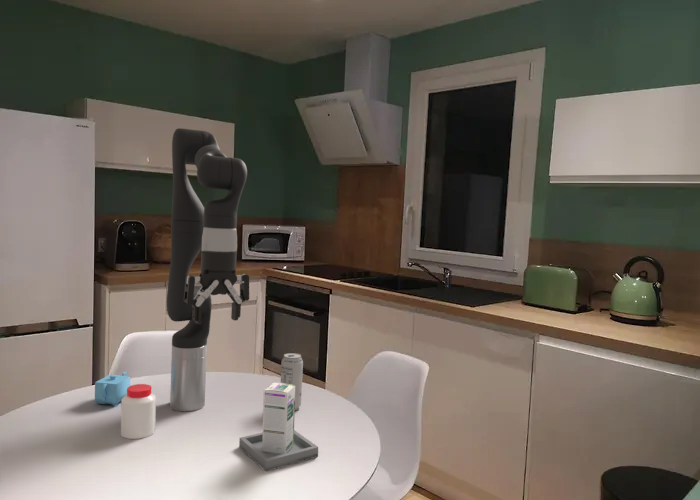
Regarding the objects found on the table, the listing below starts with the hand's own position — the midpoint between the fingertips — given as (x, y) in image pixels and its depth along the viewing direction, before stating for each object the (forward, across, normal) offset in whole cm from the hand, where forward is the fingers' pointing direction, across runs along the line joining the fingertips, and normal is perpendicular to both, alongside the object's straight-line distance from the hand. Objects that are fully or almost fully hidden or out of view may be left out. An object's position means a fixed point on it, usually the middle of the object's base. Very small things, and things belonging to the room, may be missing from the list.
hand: (216, 321), depth 116 cm
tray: (+30, -13, +7) cm, 33 cm away
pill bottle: (+30, +11, -19) cm, 37 cm away
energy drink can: (+30, -29, -15) cm, 45 cm away
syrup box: (+29, -13, +7) cm, 33 cm away
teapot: (+30, +11, -43) cm, 54 cm away
